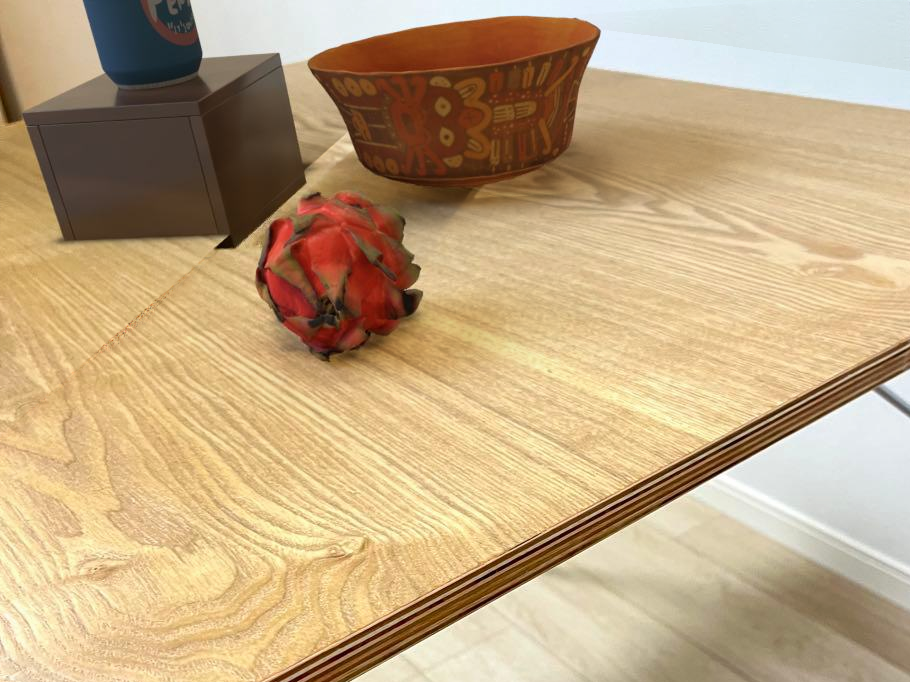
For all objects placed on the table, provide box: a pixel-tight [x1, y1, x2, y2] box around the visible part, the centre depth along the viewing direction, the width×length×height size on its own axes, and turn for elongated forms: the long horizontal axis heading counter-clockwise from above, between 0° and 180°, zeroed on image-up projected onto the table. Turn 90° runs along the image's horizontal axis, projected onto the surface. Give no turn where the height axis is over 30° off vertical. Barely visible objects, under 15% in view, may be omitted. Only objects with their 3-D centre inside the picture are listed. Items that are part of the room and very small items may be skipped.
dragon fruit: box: [254, 189, 424, 363], centre depth 62 cm, size 8×8×12 cm
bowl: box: [306, 15, 602, 189], centre depth 85 cm, size 21×21×10 cm
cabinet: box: [21, 52, 308, 250], centre depth 84 cm, size 15×13×10 cm
